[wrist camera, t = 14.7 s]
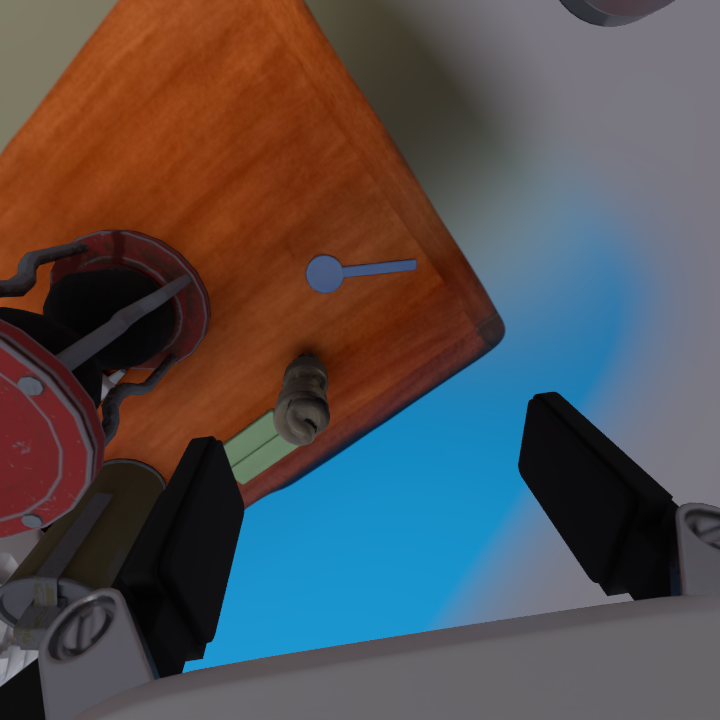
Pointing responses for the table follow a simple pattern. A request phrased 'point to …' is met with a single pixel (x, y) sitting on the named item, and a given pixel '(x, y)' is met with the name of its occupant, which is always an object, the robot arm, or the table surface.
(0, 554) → the grey carved stone block
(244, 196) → the table surface
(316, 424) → the grey spiral shell
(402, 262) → the spoon
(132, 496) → the canister
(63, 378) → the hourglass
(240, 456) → the towel
